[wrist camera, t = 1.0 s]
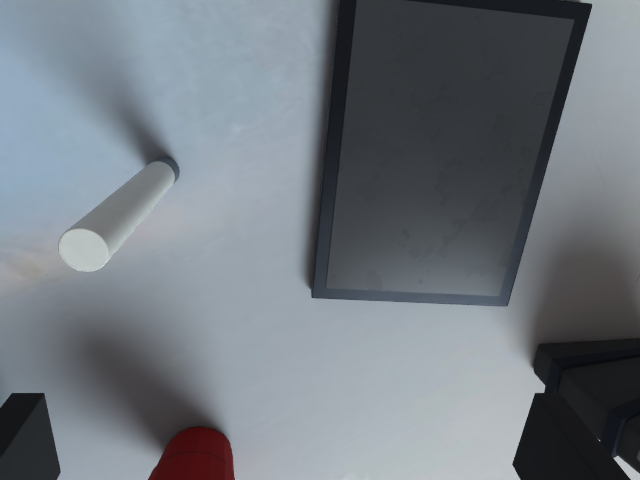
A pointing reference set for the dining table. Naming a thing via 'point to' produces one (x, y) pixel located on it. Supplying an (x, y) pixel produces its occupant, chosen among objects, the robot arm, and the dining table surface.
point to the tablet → (439, 144)
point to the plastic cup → (196, 457)
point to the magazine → (599, 389)
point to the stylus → (116, 217)
